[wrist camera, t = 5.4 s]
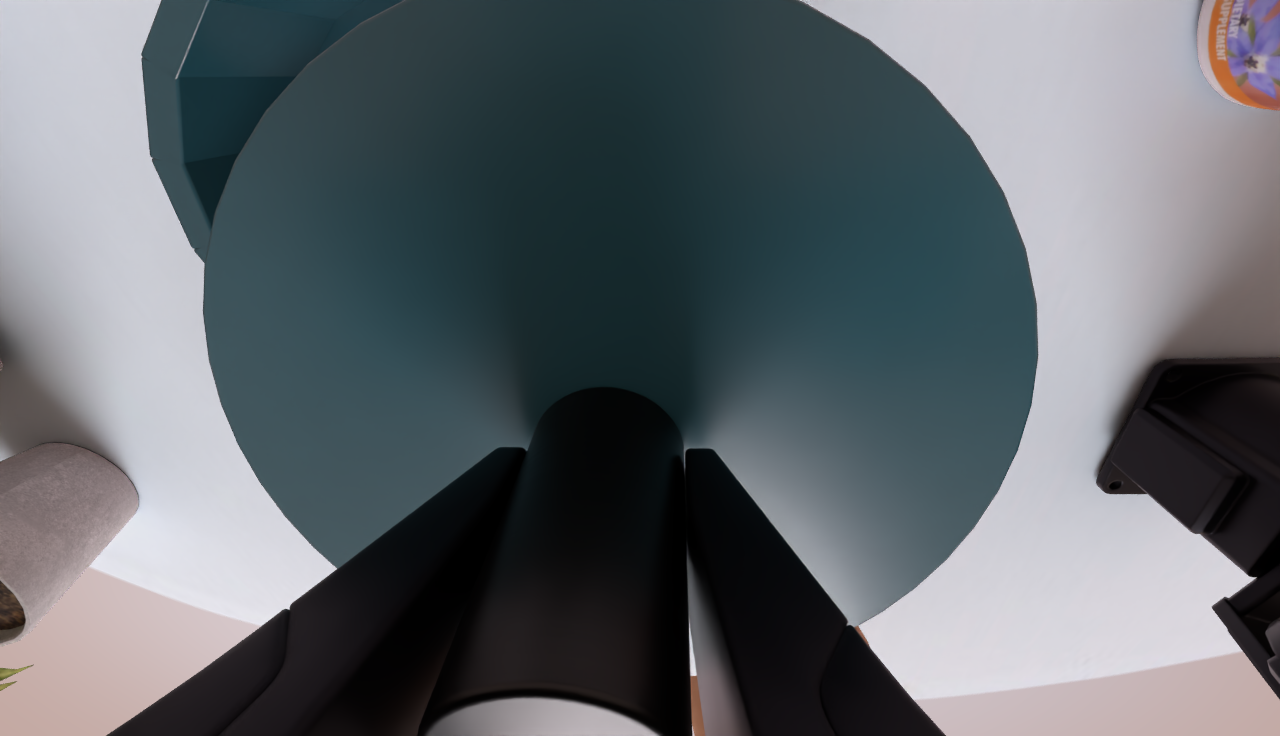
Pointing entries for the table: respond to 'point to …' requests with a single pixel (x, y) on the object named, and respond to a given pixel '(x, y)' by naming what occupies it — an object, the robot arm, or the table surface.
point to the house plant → (53, 528)
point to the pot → (226, 85)
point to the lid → (618, 320)
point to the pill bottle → (1241, 50)
